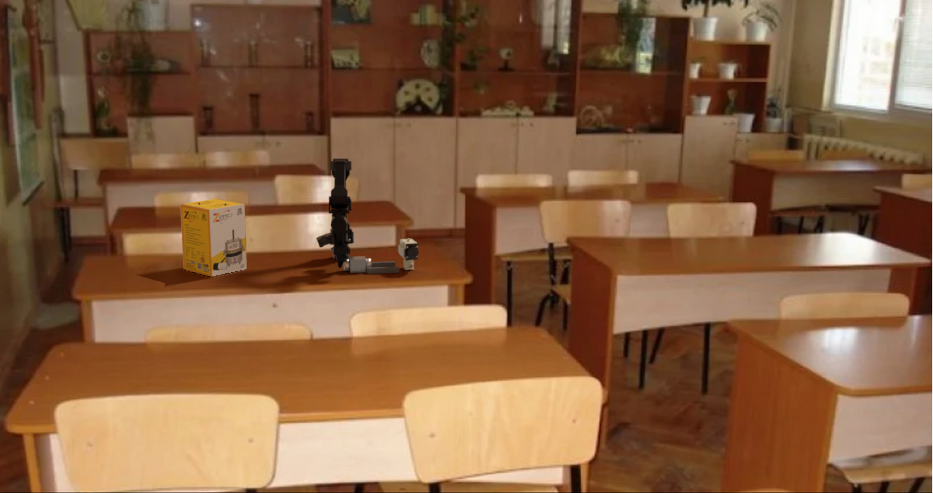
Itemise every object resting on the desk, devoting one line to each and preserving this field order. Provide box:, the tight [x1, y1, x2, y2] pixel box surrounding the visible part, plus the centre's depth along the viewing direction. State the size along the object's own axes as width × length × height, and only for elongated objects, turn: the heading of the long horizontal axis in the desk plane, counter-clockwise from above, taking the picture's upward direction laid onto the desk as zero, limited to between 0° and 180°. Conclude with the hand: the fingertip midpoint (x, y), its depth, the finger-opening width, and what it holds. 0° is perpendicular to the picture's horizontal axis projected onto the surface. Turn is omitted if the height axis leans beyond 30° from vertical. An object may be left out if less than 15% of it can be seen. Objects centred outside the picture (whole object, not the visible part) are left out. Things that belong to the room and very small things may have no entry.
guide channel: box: [366, 260, 400, 275], centre depth 339 cm, size 9×12×2 cm
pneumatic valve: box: [397, 237, 420, 271], centre depth 341 cm, size 6×12×12 cm, turn 20°
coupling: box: [343, 255, 372, 274], centre depth 337 cm, size 5×10×5 cm, turn 104°
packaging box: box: [179, 198, 248, 276], centre depth 331 cm, size 16×16×25 cm
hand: (339, 267), depth 336 cm, fingers closed, pressing on coupling
